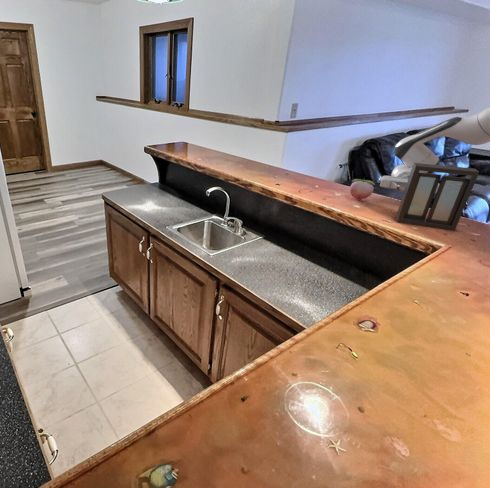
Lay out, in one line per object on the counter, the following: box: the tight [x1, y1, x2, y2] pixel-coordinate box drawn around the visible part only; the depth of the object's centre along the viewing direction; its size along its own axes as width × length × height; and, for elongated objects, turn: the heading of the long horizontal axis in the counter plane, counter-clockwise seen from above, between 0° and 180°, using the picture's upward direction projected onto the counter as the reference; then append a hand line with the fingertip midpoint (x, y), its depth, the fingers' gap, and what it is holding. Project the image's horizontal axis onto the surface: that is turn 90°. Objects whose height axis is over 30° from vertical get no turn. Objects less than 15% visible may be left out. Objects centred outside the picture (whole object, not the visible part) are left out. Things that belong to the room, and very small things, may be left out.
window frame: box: [395, 163, 480, 231], centre depth 126 cm, size 18×5×22 cm, turn 65°
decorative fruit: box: [349, 177, 376, 201], centre depth 153 cm, size 9×8×10 cm
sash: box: [404, 172, 442, 219], centre depth 130 cm, size 7×5×17 cm
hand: (411, 189), depth 137 cm, fingers open, 8 cm apart
